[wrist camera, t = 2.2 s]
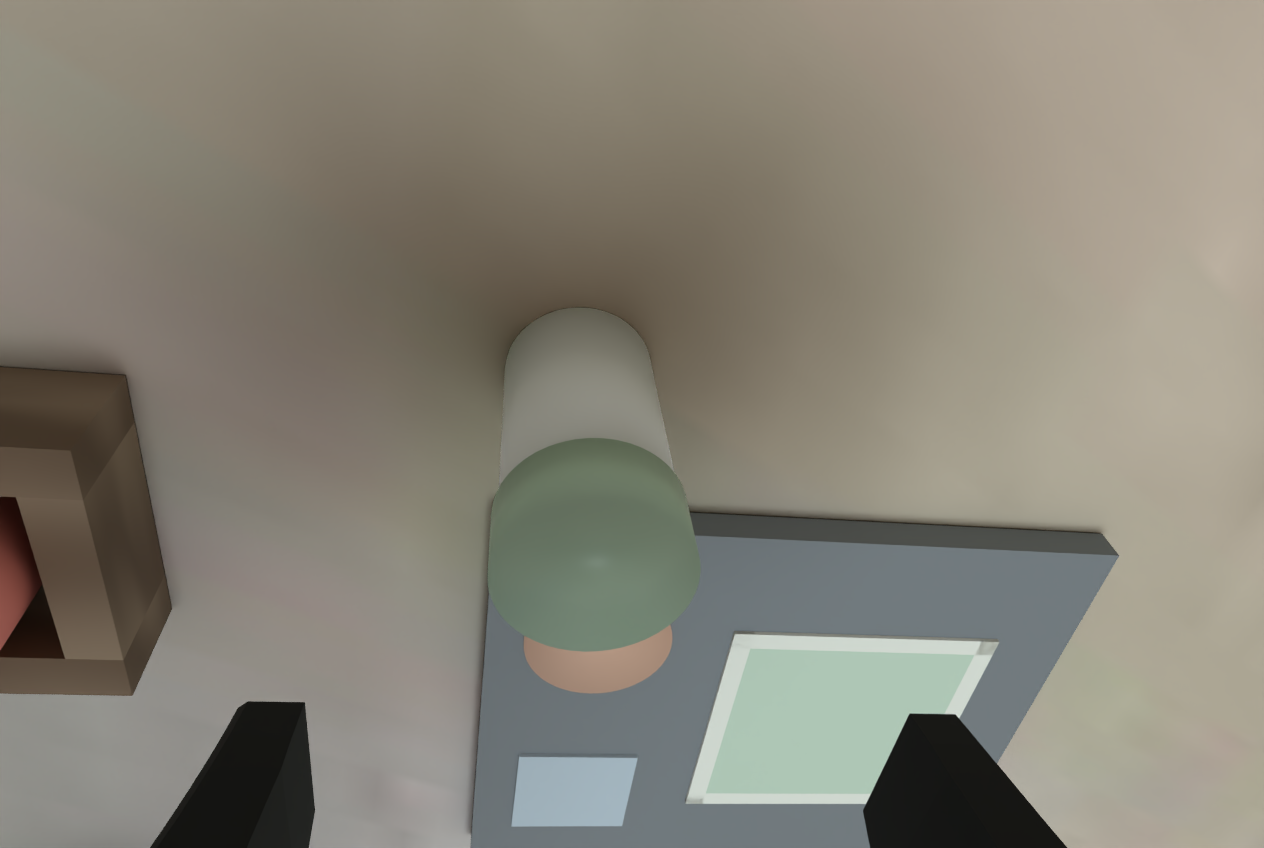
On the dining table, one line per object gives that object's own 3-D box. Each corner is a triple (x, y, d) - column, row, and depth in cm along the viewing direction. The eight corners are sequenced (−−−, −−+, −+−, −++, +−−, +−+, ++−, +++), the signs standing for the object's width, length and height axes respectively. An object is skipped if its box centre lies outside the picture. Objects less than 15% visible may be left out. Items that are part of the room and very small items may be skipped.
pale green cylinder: (643, 441, 20) (681, 654, 15) (495, 432, 19) (481, 649, 14) (667, 310, 18) (719, 501, 13) (504, 295, 17) (493, 489, 12)
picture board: (933, 832, 29) (943, 859, 29) (471, 835, 27) (469, 863, 26) (1101, 533, 22) (1121, 558, 22) (495, 502, 20) (493, 529, 19)
